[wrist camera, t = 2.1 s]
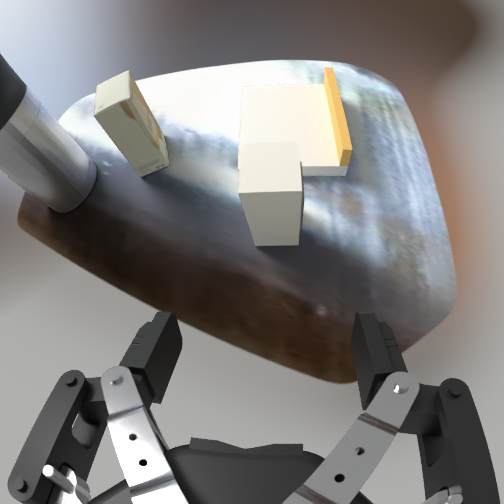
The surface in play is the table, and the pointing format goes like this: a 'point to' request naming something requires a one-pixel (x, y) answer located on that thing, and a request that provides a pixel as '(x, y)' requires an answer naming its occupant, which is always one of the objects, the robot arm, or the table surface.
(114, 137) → the skincare box
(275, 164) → the product carton
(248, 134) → the shelf board
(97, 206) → the table surface
